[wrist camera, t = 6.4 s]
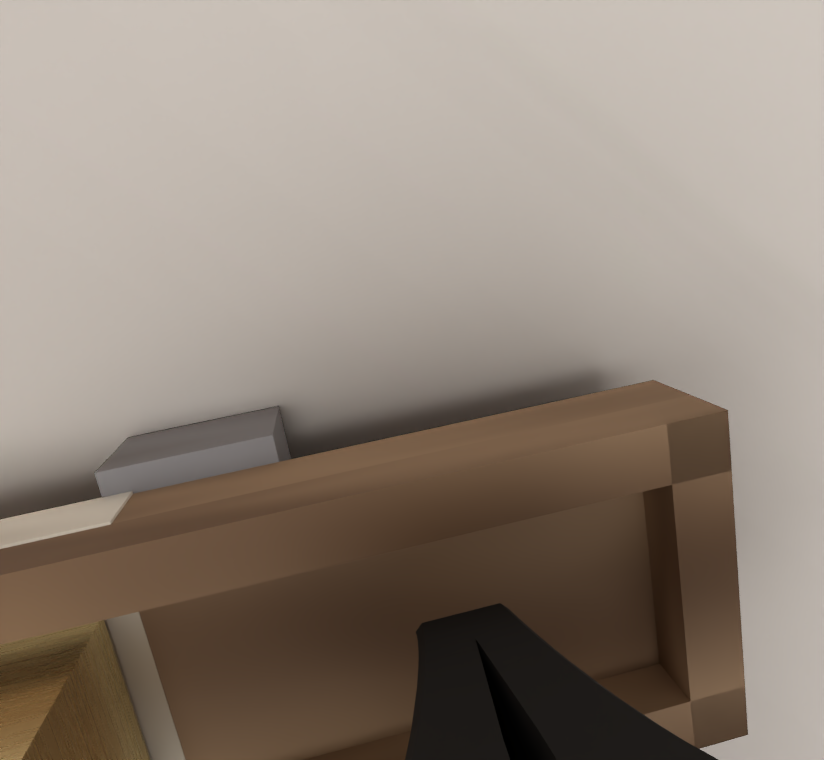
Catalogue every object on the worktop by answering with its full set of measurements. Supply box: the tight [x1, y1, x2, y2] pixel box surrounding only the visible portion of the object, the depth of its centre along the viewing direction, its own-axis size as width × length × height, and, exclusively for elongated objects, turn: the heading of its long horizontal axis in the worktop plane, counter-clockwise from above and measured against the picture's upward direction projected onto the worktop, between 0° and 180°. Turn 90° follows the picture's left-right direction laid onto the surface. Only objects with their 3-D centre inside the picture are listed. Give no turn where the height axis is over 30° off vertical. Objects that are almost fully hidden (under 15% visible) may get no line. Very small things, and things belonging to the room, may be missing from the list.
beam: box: [0, 380, 748, 760], centre depth 12 cm, size 7×17×4 cm, turn 100°
